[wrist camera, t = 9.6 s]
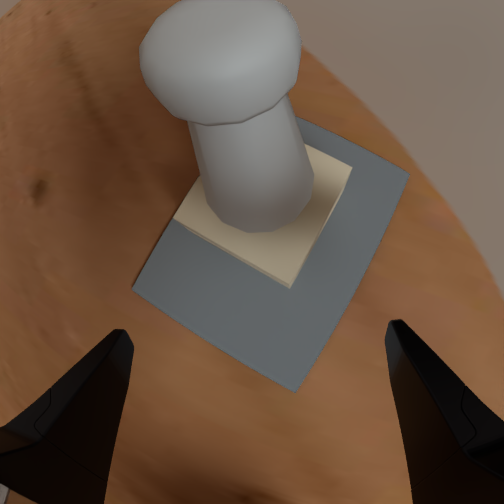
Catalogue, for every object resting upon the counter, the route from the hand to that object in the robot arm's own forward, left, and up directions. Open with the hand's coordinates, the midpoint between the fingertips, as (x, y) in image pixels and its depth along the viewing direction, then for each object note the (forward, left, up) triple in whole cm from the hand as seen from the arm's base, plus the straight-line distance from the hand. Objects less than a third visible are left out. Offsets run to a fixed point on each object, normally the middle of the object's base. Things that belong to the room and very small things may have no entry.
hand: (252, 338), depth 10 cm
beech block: (+7, +4, -11) cm, 14 cm away
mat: (+6, +3, -12) cm, 13 cm away
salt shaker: (+6, +4, -8) cm, 11 cm away
